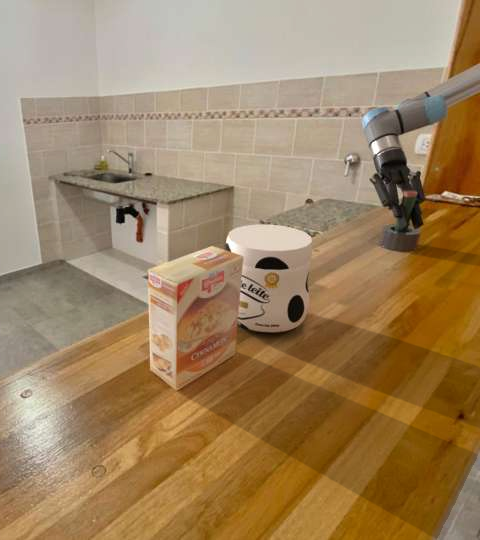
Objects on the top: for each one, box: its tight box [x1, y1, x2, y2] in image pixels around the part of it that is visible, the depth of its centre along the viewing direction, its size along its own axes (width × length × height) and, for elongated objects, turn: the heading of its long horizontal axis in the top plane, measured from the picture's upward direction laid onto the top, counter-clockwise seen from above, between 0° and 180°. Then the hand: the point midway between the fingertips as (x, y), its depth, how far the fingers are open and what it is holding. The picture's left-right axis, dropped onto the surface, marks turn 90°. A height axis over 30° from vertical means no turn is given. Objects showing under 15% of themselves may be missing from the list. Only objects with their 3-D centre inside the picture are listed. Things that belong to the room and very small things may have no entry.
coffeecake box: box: [147, 245, 244, 392], centre depth 64 cm, size 15×7×20 cm, turn 126°
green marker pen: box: [394, 190, 417, 232], centre depth 106 cm, size 3×3×12 cm
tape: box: [378, 224, 422, 252], centre depth 109 cm, size 9×9×5 cm
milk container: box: [224, 224, 313, 335], centre depth 76 cm, size 17×17×18 cm
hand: (412, 226), depth 104 cm, fingers closed on green marker pen, 3 cm apart
